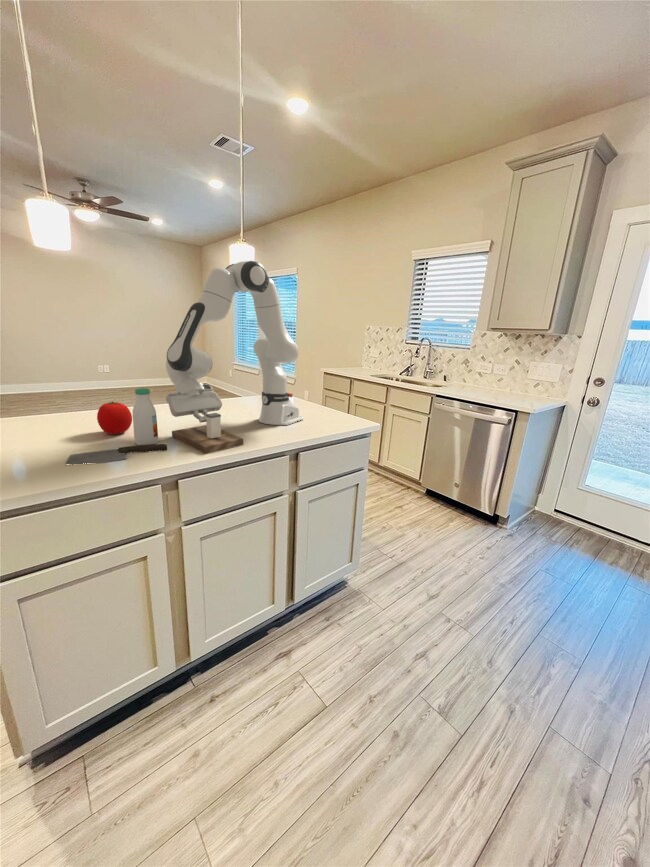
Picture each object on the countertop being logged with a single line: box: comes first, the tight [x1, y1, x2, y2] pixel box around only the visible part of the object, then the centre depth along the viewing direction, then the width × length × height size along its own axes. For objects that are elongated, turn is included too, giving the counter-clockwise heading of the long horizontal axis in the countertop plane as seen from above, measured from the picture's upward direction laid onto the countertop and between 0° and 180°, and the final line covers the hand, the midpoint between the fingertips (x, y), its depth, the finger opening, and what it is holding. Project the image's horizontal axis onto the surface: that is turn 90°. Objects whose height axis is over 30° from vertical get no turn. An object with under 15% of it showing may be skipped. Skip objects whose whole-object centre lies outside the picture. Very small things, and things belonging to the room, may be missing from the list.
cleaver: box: [65, 443, 168, 466], centre depth 116 cm, size 29×10×2 cm, turn 121°
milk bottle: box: [132, 387, 159, 445], centre depth 127 cm, size 8×8×20 cm
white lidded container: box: [206, 412, 222, 439], centre depth 131 cm, size 4×3×9 cm
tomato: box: [96, 401, 133, 435], centre depth 136 cm, size 12×12×13 cm
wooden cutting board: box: [171, 424, 244, 455], centre depth 136 cm, size 16×24×2 cm, turn 49°
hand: (204, 421), depth 135 cm, fingers closed
